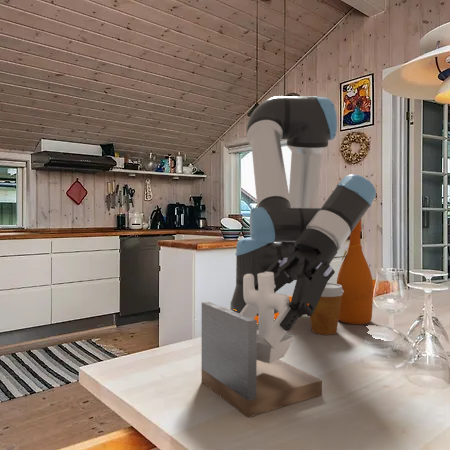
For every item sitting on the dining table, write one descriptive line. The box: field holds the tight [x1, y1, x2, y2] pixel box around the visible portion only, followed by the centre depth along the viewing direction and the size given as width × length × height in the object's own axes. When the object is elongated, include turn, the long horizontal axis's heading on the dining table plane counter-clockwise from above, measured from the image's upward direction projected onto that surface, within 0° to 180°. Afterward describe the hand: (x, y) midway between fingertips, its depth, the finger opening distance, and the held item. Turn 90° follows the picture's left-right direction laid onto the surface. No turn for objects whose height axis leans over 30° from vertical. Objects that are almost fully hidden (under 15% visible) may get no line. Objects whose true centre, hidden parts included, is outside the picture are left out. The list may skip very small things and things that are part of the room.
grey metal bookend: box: [201, 301, 258, 401], centre depth 69 cm, size 2×15×12 cm, turn 31°
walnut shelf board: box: [201, 359, 323, 418], centre depth 73 cm, size 15×15×2 cm
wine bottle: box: [336, 219, 374, 325], centre depth 118 cm, size 10×10×30 cm
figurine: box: [243, 272, 296, 364], centre depth 73 cm, size 7×9×15 cm
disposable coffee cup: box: [309, 282, 344, 336], centre depth 108 cm, size 10×10×12 cm
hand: (251, 335), depth 72 cm, fingers closed on figurine, 9 cm apart
